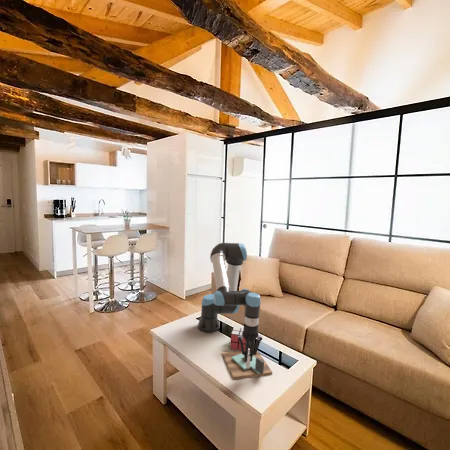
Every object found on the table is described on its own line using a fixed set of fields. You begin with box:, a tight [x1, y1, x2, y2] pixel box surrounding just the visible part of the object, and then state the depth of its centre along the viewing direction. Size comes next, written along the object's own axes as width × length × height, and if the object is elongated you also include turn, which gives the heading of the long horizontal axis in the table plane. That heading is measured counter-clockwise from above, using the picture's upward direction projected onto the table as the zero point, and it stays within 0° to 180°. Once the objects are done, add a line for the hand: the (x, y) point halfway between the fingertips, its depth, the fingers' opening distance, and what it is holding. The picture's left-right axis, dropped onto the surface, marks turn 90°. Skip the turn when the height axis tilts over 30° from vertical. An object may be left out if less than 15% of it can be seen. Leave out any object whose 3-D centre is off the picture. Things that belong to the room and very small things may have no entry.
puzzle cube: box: [229, 326, 246, 351], centre depth 163 cm, size 10×10×10 cm
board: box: [221, 349, 273, 380], centre depth 146 cm, size 22×22×7 cm
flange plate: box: [231, 354, 264, 374], centre depth 142 cm, size 20×12×7 cm, turn 34°
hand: (247, 366), depth 135 cm, fingers closed
